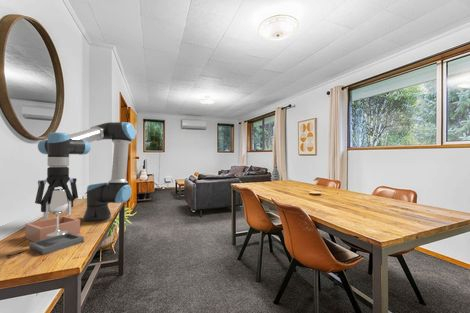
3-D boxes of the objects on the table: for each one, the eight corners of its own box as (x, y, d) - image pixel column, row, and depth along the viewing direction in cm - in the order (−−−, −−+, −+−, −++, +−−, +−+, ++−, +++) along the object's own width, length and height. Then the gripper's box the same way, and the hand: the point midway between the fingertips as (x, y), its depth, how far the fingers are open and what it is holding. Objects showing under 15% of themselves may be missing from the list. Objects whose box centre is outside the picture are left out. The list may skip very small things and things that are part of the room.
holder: (64, 228, 117) (64, 215, 117) (80, 233, 110) (80, 219, 110) (25, 237, 103) (25, 223, 103) (39, 244, 95) (40, 228, 95)
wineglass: (72, 231, 96) (72, 188, 97) (53, 237, 89) (53, 191, 89) (61, 229, 99) (61, 188, 99) (41, 235, 92) (42, 190, 92)
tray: (69, 237, 104) (69, 232, 104) (83, 242, 98) (83, 236, 98) (29, 248, 90) (29, 243, 90) (42, 255, 84) (42, 249, 84)
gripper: (79, 165, 105) (78, 210, 105) (24, 167, 87) (23, 221, 87) (87, 166, 102) (87, 212, 101) (31, 167, 84) (30, 224, 83)
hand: (57, 216), depth 94 cm, fingers closed on wineglass, 8 cm apart
